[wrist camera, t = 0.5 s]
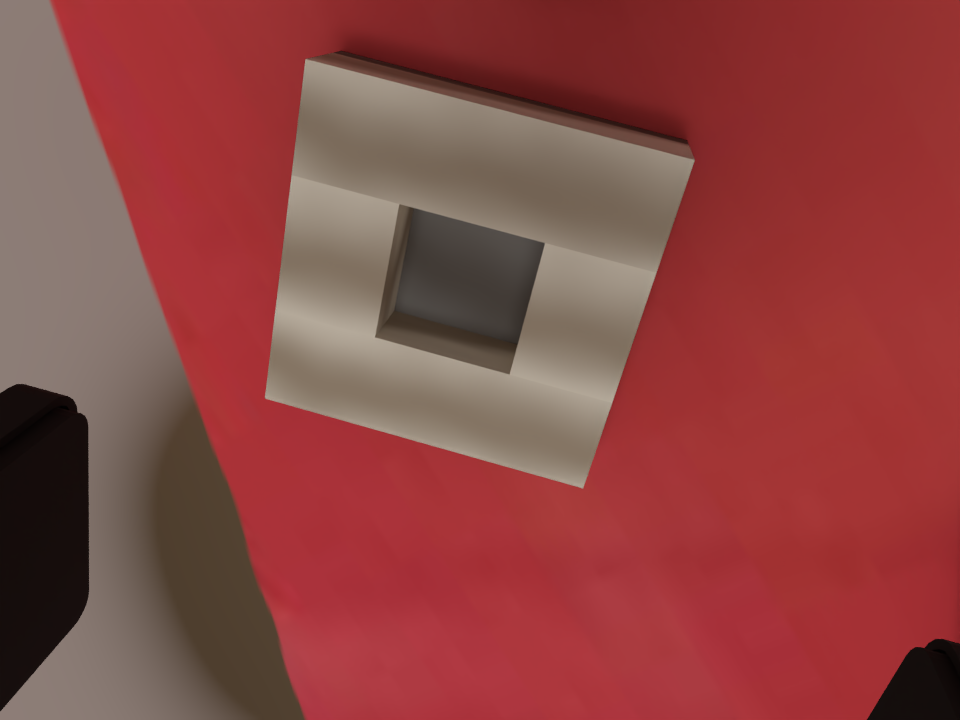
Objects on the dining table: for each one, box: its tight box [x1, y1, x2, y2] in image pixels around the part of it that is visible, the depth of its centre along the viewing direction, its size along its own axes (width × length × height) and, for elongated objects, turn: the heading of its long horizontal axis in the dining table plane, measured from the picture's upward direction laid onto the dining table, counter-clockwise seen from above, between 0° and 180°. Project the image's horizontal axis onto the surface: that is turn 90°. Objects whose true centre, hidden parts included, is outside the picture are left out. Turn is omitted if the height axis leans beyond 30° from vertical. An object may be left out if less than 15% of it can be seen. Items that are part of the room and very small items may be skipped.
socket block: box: [265, 51, 695, 488], centre depth 33 cm, size 14×14×4 cm
